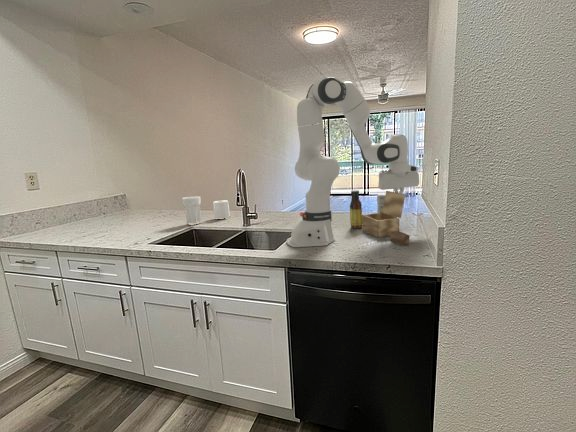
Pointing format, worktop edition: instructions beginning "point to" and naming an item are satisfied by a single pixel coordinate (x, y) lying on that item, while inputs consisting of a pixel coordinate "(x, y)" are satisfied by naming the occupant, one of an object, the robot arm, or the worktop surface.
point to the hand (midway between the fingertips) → (399, 197)
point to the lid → (393, 203)
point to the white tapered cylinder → (221, 209)
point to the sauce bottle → (355, 210)
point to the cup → (192, 209)
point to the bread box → (379, 224)
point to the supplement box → (381, 203)
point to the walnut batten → (400, 238)
